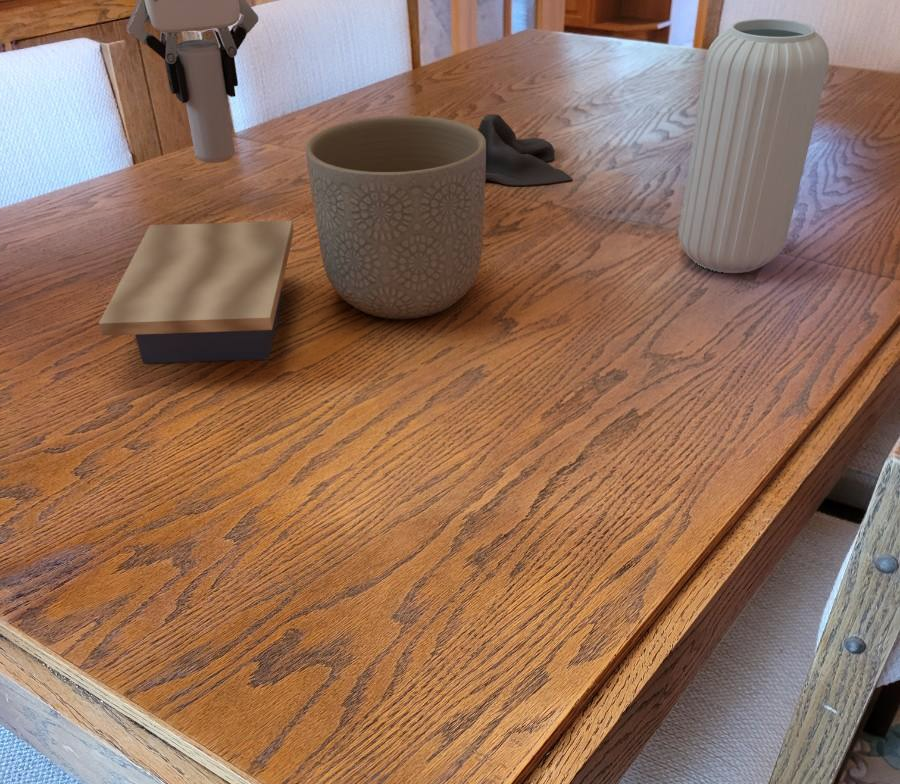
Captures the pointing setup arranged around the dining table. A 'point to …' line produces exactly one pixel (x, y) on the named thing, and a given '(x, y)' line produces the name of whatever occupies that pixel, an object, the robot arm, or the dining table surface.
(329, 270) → the planter
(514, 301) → the dining table surface
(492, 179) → the cloth
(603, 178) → the dining table surface
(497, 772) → the dining table surface
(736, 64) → the vase
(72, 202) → the dining table surface
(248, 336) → the crate
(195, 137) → the beverage can
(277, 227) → the board
